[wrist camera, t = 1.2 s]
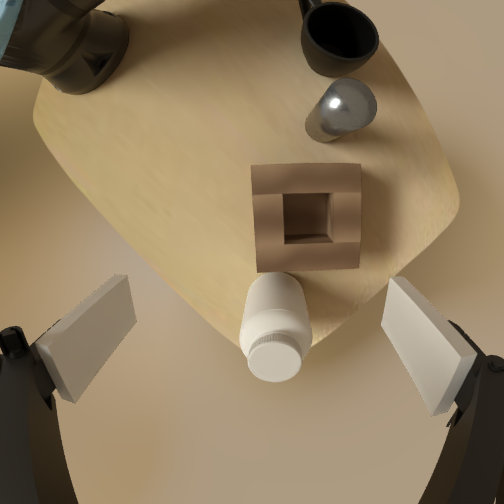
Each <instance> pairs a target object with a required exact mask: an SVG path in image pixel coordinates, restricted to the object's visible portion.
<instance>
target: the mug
mask: <svg viewBox="0 0 504 504" xmlns="http://www.w3.org/2000/svg"><path fill="white" fill-rule="evenodd" d="M298 1H299V5H300V9H301V13H302V17H303V25H302V30H301V44H302V49H303V53H304V55H305V58H306V60H307V62H308V64H309V66H310V67H311V69H313V70H314V71H315V72H316V73H318V74H320V75H322V76H327V77H334V76H338V75H343V74H347V73H350V72H352V71H354V70H356V69H358V68H360V67H361V66H362V65H363V64H365V63H366V62H367V61H368V60H369V59H370V58H371V57H372V56H373V55H374V53H375V52H376V50H377V48H378V45H379V35H378V32H377V29H376V27H375V25H374V24H373V22H372V21H371V20H370V19H369V18H368V17H367V16H366V15H365V14H364V13H363V12H361V11H360V10H358V9H356V8H354V7H352V6H350V5H347V4H343V3H339V2H326V3H322V2H321V0H298ZM311 6H312V8H311Z"/></svg>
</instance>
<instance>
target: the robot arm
mask: <svg viewBox="0 0 504 504" xmlns="http://www.w3.org/2000/svg"><path fill="white" fill-rule="evenodd" d="M104 1H105V0H0V66H3V67H8V68H13V69H18V70H23V71H28V72H31V73H36V74H39V75H42V76H43V77H45V78H46V79H47V80H48V81H49V82H50V83H52V85H53V86H54V87H55V88H56V89H57V90H59V91H61V92H63V93H67V94H71V95H79V94H84V93H87V92H89V91H91V90H93V89H94V88H96V87H98V86H99V85H100V84H101V83H103V82H104V81H105V80H106V79H107V78H108V77H109V76H110V75H111V74H112V73H113V71H114V70H115V69H116V67H117V66H118V65H119V63H120V61H121V60H122V58H123V56H124V54H125V51H126V48H127V45H128V40H129V31H128V27H127V25H126V23H125V22H124V21H123V20H122V19H121V18H120V17H118V16H117V15H116V14H114V13H111V12H107V11H101V10H96V9H94V8H96V7H97V6H98V5H100V4H101V3H103V2H104ZM136 322H137V320H136V316H135V311H134V307H133V302H132V297H131V292H130V287H129V282H128V276H127V275H114V276H113V277H112V278H111V279H109V280H108V281H107V282H105V283H104V284H103V285H102V286H100V287H99V288H98V289H97V290H95V291H94V292H93V293H92V294H91V295H90V296H88V297H87V298H86V299H84V300H83V301H82V302H81V303H80V304H78V306H76V307H75V308H74V309H73V310H72V311H70V312H69V313H68V314H67V315H66V316H64V317H63V318H62V319H60V320H58V321H57V322H56V323H55V324H54V325H53V326H52V327H51V328H49V329H48V330H47V332H45V333H43V334H42V335H41V336H40V337H39V338H38V339H37V340H36V341H35V342H34V343H32V344H31V345H30V346H29V345H28V343H27V341H26V338H25V335H24V333H23V330H22V328H20V327H18V326H12V327H8V328H6V329H4V330H2V331H1V332H0V348H1V350H2V353H3V354H0V504H78V501H77V498H76V495H75V492H74V488H73V485H72V482H71V478H70V475H69V471H68V468H67V463H66V459H65V455H64V450H63V446H62V440H61V435H60V430H59V423H58V417H57V410H56V402H55V398H54V396H53V394H52V392H53V391H54V390H55V388H56V389H57V390H58V393H59V394H60V396H61V398H62V399H64V400H67V401H70V402H72V403H76V402H77V401H78V399H79V398H80V396H81V395H82V394H83V392H84V390H85V389H86V388H87V387H88V385H89V384H90V383H91V381H92V380H93V378H94V377H95V376H96V374H97V373H98V371H99V370H100V369H101V368H102V366H103V365H104V364H105V362H106V361H107V359H108V358H109V357H110V356H111V354H112V353H113V352H114V350H115V349H116V348H117V346H118V345H119V344H120V343H121V341H122V340H123V339H124V337H125V336H126V335H127V333H128V332H129V331H130V330H131V328H132V327H133V326H134V324H135V323H136ZM381 326H382V328H383V329H384V331H385V333H386V334H387V336H388V338H389V339H390V341H391V343H392V345H393V346H394V348H395V350H396V351H397V353H398V355H399V356H400V358H401V360H402V362H403V364H404V365H405V367H406V369H407V371H408V373H409V374H410V376H411V378H412V380H413V382H414V384H415V385H416V387H417V389H418V391H419V393H420V394H421V397H422V399H423V400H424V402H425V404H426V406H427V408H428V410H429V412H430V414H431V416H436V415H439V414H442V413H445V412H448V410H449V409H450V407H451V405H452V403H453V402H454V401H455V402H456V404H457V406H458V408H457V409H456V411H455V413H454V414H453V416H452V417H451V419H450V421H449V422H448V424H447V426H446V427H449V425H450V423H451V426H450V429H449V432H448V435H447V438H446V441H445V444H444V446H443V449H442V452H441V455H440V457H439V460H438V462H437V464H436V467H435V469H434V472H433V474H432V476H431V479H430V481H429V483H428V485H427V487H426V489H425V491H424V493H423V495H422V497H421V499H420V501H419V503H418V504H494V501H495V497H496V503H495V504H504V359H503V358H501V357H499V356H495V355H489V356H486V355H485V354H484V353H483V352H482V351H481V350H480V348H479V347H478V346H477V345H476V344H475V343H474V342H473V341H472V340H471V339H470V338H469V336H468V335H467V334H465V332H464V331H463V330H462V329H461V328H460V327H459V326H458V325H457V324H455V323H453V322H452V321H450V320H446V319H445V317H444V316H443V315H442V314H441V313H440V312H439V311H438V310H437V309H436V308H435V307H434V306H433V305H432V304H431V303H430V302H429V301H428V300H427V299H426V298H425V297H424V296H423V295H422V294H421V293H420V292H419V291H418V290H417V289H416V288H415V287H414V286H413V285H412V284H411V283H410V282H409V281H407V280H406V279H405V278H404V277H403V276H401V277H390V280H389V286H388V292H387V298H386V303H385V308H384V313H383V318H382V322H381Z"/></svg>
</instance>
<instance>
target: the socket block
mask: <svg viewBox="0 0 504 504" xmlns="http://www.w3.org/2000/svg"><path fill="white" fill-rule="evenodd" d="M251 180H252V197H253V213H254V230H255V247H256V264H257V273H261V272H289V271H313V270H334V269H354V268H359V262H360V243H361V164H350V163H300V164H270V165H251Z"/></svg>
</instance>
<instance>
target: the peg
mask: <svg viewBox="0 0 504 504" xmlns="http://www.w3.org/2000/svg"><path fill="white" fill-rule="evenodd" d="M376 112H377V102H376V99H375V96H374V94H373V93H372V91H371V90H370V89H369V88H368V87H367V86H366V85H365V84H364V83H362V82H360V81H358V80H356V79H351V78H343V79H339V80H337V81H335V82H334V83H332V84H331V85H330V87H329V88H328V89H327V91H326V92H325V93H324V95H323V96H322V98H321V99H320V100H319V102H318V103H317V104H316V106H315V107H314V109H313V110H312V111H311V113H310V114H309V116H308V117H307V119H306V122H305V128H306V131H307V133H308V135H309V136H310V137H311V138H312V139H313V140H315V141H317V142H321V143H326V142H330V141H332V140H334V139H336V138H339V137H341V136H343V135H346V134H348V133H350V132H353V131H355V130H357V129H360V128H362V127H364V126H367V125H368V124H370V123H371V122H372V121H373V119H374V117H375V115H376Z"/></svg>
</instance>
